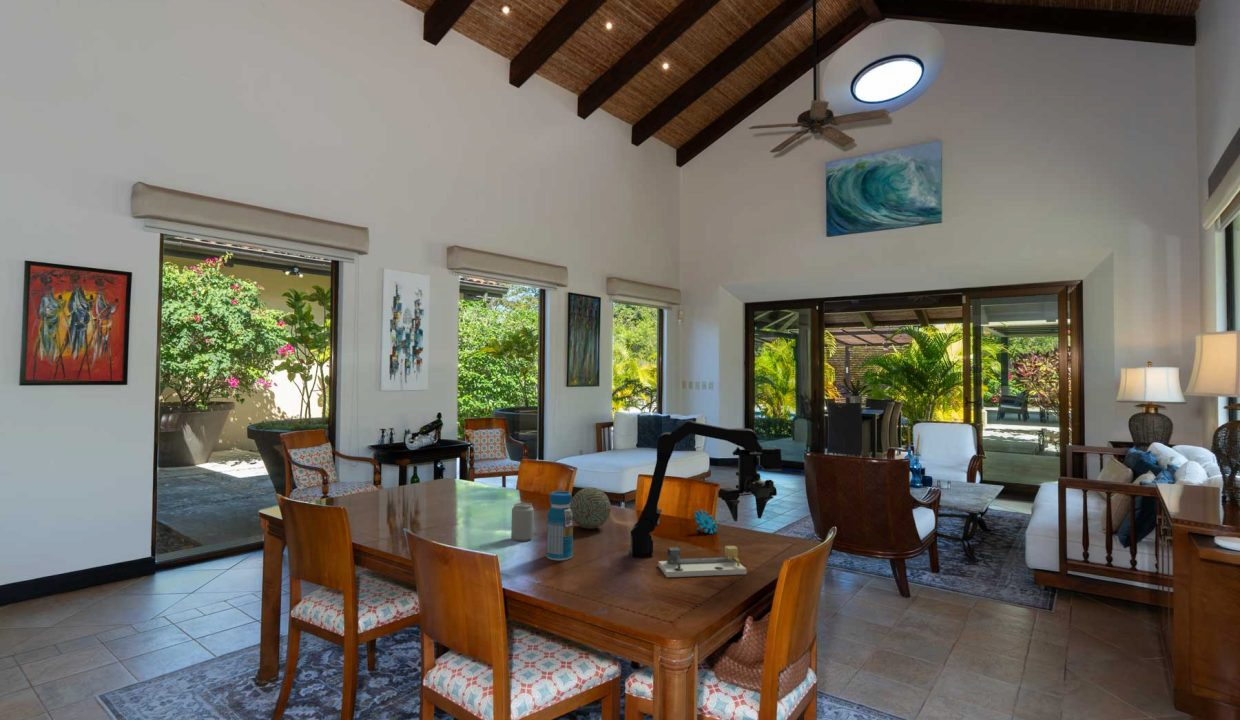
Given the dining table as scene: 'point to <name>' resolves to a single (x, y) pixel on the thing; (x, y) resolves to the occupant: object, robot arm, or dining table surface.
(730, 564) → the plate
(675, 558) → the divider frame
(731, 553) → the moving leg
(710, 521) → the gear
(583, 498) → the decorative sphere
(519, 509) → the can
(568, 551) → the beverage bottle
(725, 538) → the dining table surface
